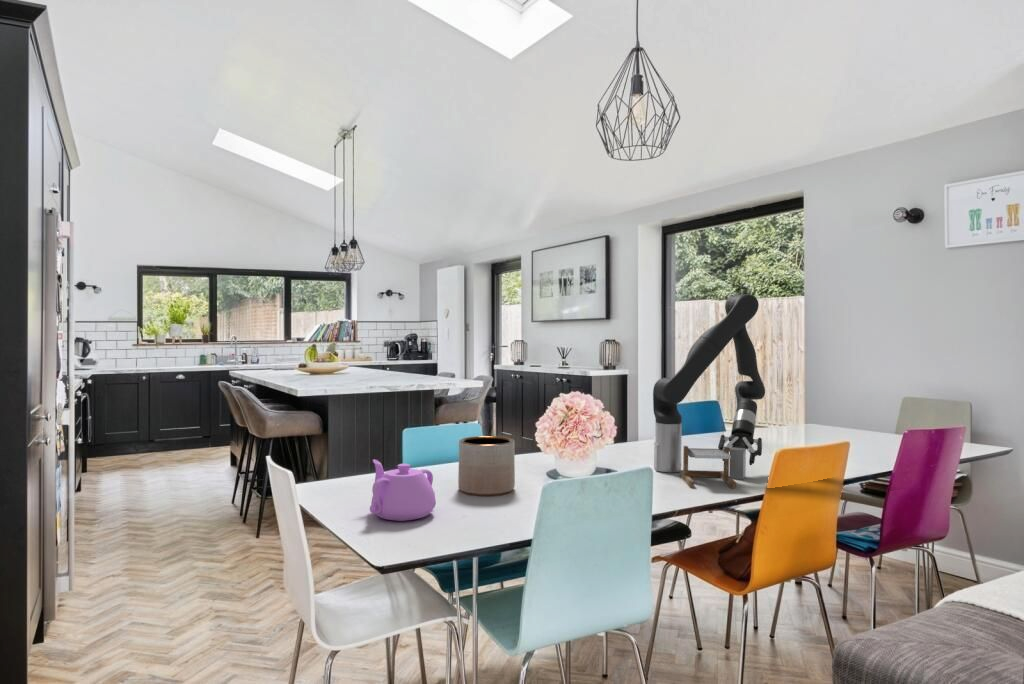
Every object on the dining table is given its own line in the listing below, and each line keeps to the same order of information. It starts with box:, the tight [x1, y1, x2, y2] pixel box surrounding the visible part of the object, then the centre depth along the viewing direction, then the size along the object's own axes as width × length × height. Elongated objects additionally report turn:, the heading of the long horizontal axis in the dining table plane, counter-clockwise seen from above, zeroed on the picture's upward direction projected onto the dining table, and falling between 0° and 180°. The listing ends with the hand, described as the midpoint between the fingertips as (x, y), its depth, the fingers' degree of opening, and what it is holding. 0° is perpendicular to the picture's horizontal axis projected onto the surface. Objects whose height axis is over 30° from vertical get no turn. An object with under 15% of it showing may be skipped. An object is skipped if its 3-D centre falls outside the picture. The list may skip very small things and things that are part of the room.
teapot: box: [369, 459, 437, 522], centre depth 180 cm, size 22×22×14 cm
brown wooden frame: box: [679, 445, 738, 490], centre depth 221 cm, size 18×15×12 cm
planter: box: [457, 435, 516, 497], centre depth 208 cm, size 18×18×16 cm
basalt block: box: [729, 447, 747, 481], centre depth 228 cm, size 4×4×10 cm
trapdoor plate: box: [688, 447, 731, 460], centre depth 220 cm, size 15×11×3 cm
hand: (737, 462), depth 228 cm, fingers open, 8 cm apart
